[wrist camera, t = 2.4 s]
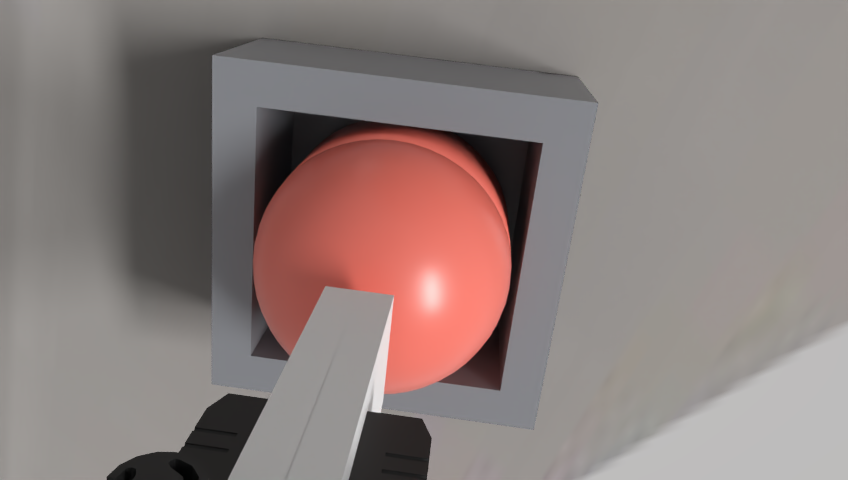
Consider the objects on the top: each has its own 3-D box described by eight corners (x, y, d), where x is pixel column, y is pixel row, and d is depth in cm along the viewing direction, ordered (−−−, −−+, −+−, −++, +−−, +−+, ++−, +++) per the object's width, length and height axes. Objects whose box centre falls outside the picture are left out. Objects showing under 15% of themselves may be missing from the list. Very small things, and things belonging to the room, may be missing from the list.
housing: (262, 37, 23) (211, 55, 19) (578, 76, 23) (598, 102, 18) (255, 317, 27) (211, 384, 22) (526, 354, 26) (533, 429, 22)
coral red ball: (295, 99, 22) (214, 157, 16) (524, 128, 22) (539, 199, 15) (286, 304, 25) (213, 428, 18) (491, 332, 24) (492, 468, 18)
